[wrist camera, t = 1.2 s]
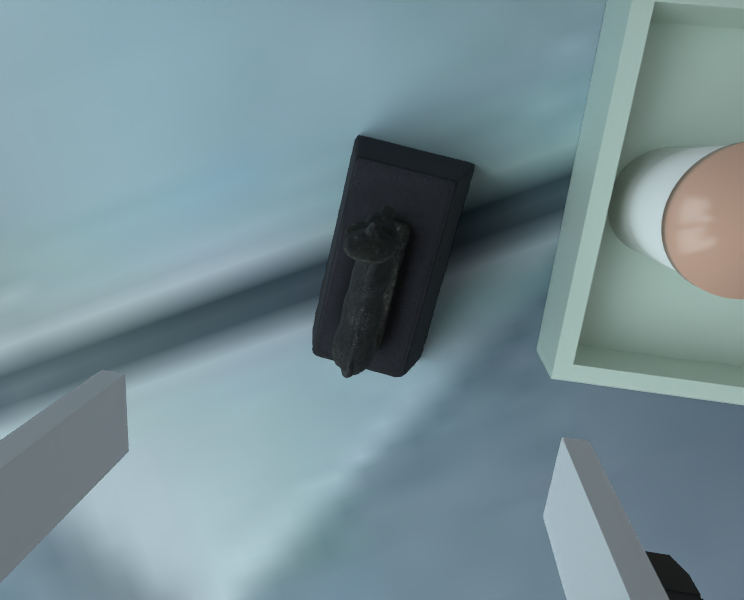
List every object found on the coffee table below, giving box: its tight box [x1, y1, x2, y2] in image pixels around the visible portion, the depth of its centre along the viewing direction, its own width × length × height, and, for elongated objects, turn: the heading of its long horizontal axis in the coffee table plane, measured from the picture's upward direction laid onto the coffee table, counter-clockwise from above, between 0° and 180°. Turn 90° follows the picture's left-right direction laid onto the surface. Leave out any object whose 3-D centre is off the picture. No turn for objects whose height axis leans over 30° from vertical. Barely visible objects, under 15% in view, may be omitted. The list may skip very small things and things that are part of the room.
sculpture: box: [312, 135, 474, 378], centre depth 26 cm, size 8×13×15 cm, turn 164°
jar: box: [608, 141, 744, 299], centre depth 26 cm, size 6×6×9 cm
